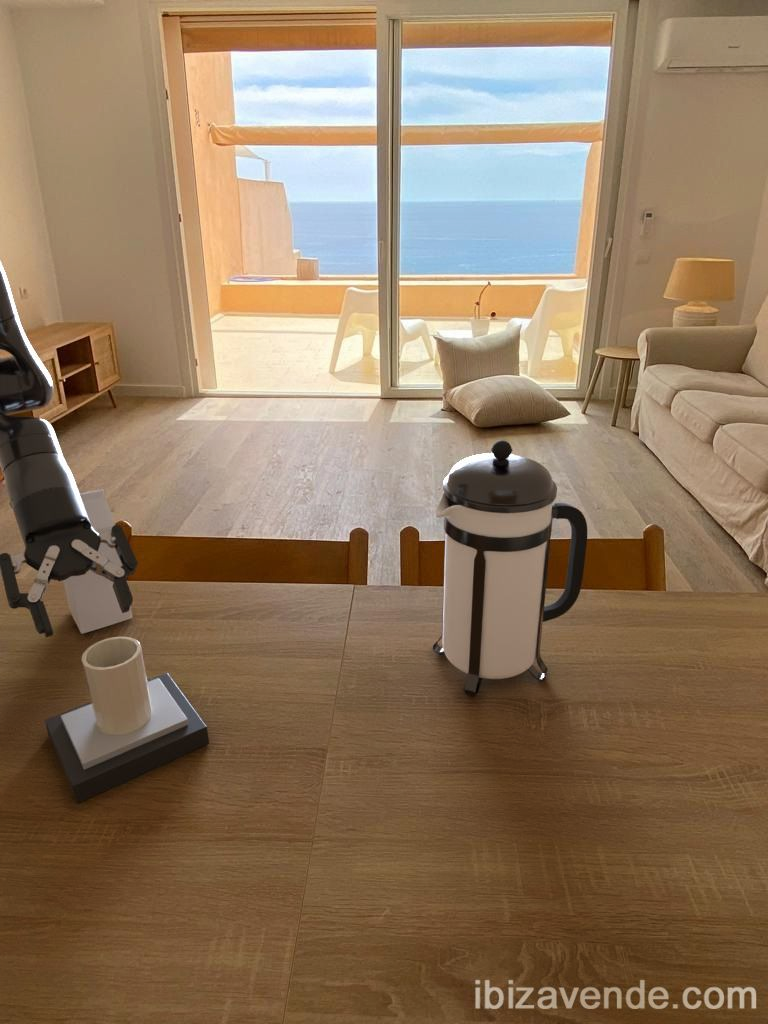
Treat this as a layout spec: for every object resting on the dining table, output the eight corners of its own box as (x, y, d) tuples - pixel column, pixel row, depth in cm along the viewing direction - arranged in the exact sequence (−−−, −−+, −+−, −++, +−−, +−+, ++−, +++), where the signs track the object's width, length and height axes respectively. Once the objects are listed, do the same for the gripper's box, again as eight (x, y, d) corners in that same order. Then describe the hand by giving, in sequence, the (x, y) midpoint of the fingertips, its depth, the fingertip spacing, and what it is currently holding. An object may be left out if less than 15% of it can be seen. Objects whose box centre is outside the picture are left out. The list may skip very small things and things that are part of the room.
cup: (105, 743, 72) (90, 676, 69) (90, 713, 76) (75, 649, 73) (160, 720, 75) (148, 655, 72) (142, 692, 80) (130, 630, 76)
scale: (77, 804, 69) (70, 779, 68) (48, 736, 78) (42, 713, 77) (209, 743, 76) (206, 720, 75) (170, 688, 85) (166, 666, 84)
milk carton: (133, 619, 100) (110, 497, 92) (81, 635, 96) (53, 510, 88) (119, 598, 105) (97, 481, 97) (70, 612, 101) (42, 492, 94)
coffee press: (533, 719, 79) (557, 475, 67) (410, 677, 87) (411, 449, 74) (575, 643, 93) (602, 428, 81) (466, 612, 100) (475, 410, 88)
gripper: (-22, 500, 77) (21, 634, 73) (109, 472, 84) (154, 592, 81) (-18, 527, 83) (22, 652, 79) (104, 499, 91) (146, 612, 87)
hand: (89, 622), depth 80 cm, fingers open, 8 cm apart
